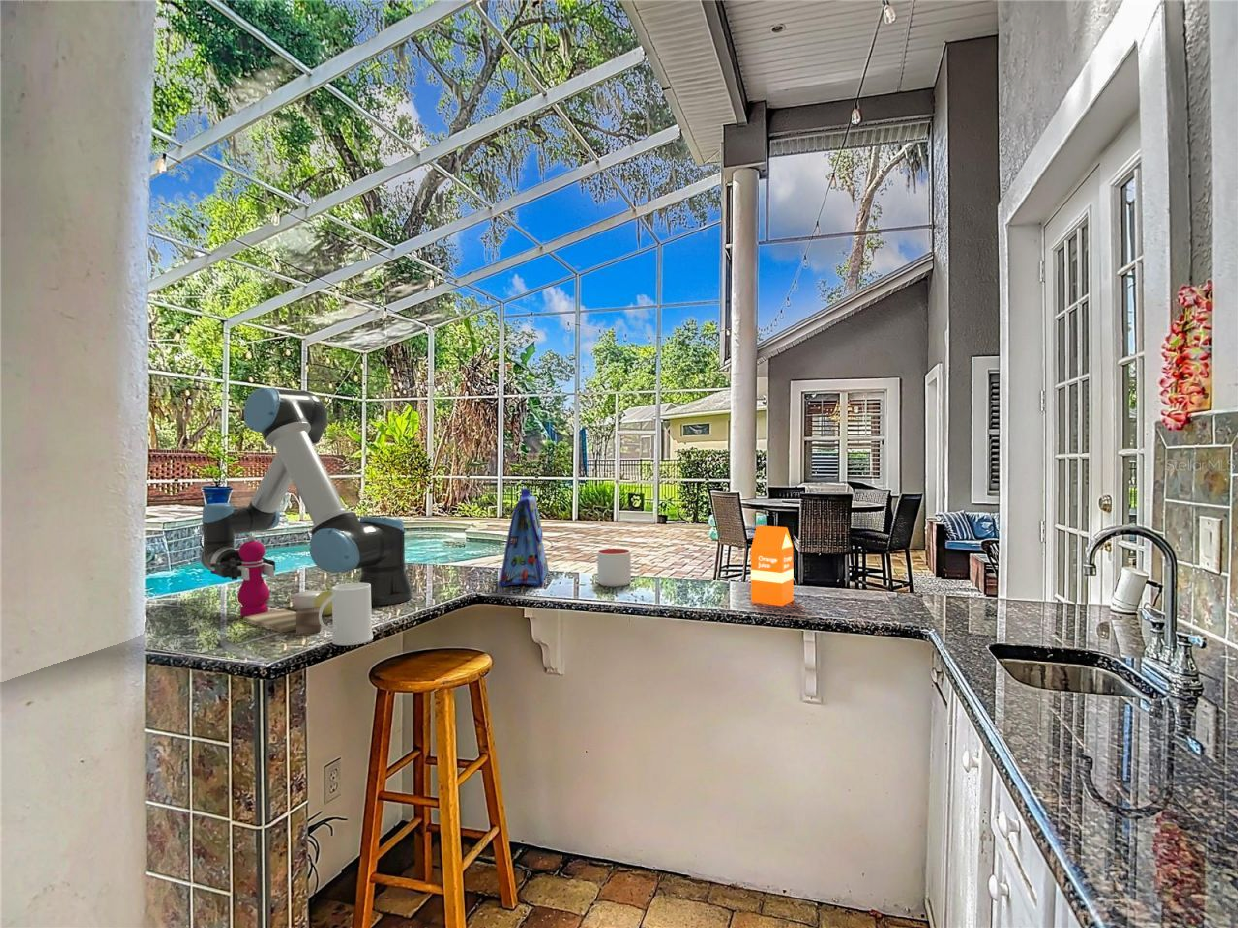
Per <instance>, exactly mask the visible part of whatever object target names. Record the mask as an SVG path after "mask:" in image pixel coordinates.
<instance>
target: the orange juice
mask: <svg viewBox="0 0 1238 928" xmlns="http://www.w3.org/2000/svg"><path fill="white" fill-rule="evenodd" d="M794 570H795V569H794V544H793V541H792V539H791V535H790V531H789V529H788V527H787V526H776V525H775V526H774V525H773V526H772V525H762V524H761V525H759V524H758V525H757V526H756V529H755V533H754V536H753V539H752V544H751V547H750V592H751V593H750V595H751V596H750V599H751V600H750V601H751V603H757V604H764V605H772V606H778V607H783V606H785V605H788V604H790V603H791V602H793V601H794V600H795V599H794V596H795V595H794V590H795V589H794V588H795V587H794V583H795V582H794V578H795V577H794V576H795V575H794V573H795V572H794Z"/></svg>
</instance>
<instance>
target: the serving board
mask: <svg viewBox="0 0 1238 928" xmlns="http://www.w3.org/2000/svg"><path fill="white" fill-rule="evenodd" d="M295 614H296V611H293V610H290V609H287V608H279V609H276V610H271V611H268V612H265V613H260V614H255V615H251V616H242V617H243V618H242V619H243V621H246V622H249V623H252V624H255V625H258V626H257V627H259V626H261V627H260V628H262V627H265V628H268V629H267V630H269V629H271V630H270V631H272V630H274V631H273V632H275V631H277V632H276V633H278V632H280V633H279V634H284V633H287V632H292V631H296V616H295ZM246 622H245V623H246ZM249 623H248V624H249ZM252 624H251V625H252ZM255 625H254V626H255ZM265 628H264V629H265ZM283 632H284V633H283Z"/></svg>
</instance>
